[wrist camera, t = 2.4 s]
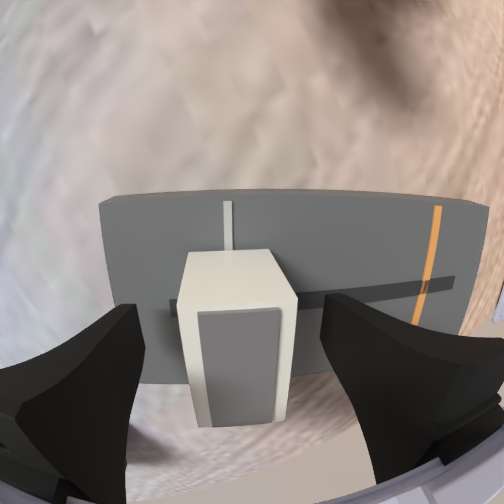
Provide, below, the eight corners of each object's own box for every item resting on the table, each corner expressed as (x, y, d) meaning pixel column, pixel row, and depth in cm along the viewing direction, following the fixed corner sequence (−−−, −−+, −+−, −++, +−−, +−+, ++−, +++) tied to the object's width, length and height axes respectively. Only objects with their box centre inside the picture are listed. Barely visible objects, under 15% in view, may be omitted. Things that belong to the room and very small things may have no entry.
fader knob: (269, 248, 11) (299, 301, 7) (265, 353, 12) (285, 423, 9) (188, 252, 10) (175, 308, 7) (199, 357, 12) (198, 431, 8)
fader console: (467, 200, 14) (490, 207, 12) (440, 323, 17) (457, 338, 15) (114, 196, 12) (97, 203, 10) (142, 359, 14) (136, 384, 12)
